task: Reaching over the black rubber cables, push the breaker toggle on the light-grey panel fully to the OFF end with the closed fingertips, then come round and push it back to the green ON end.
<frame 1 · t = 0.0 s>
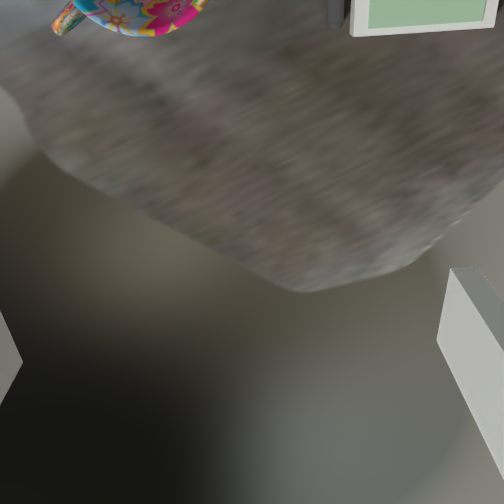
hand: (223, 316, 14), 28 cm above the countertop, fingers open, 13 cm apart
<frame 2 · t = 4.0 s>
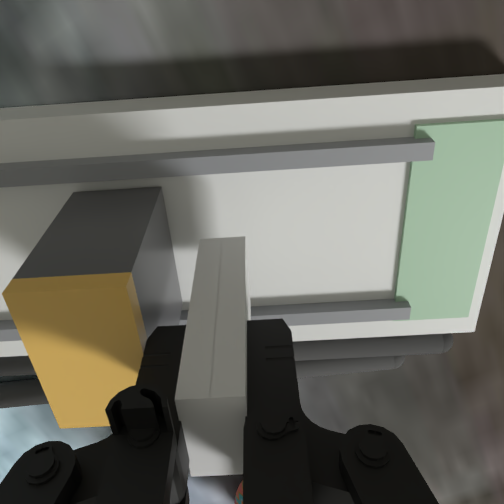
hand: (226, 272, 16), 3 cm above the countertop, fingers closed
cable b: (157, 370, 23), on the countertop
breaker toggle: (114, 299, 15), point 5 cm above the countertop, slide at 3.7 cm, touching gripper
cable a: (172, 344, 22), on the countertop
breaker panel: (148, 228, 19), on the countertop
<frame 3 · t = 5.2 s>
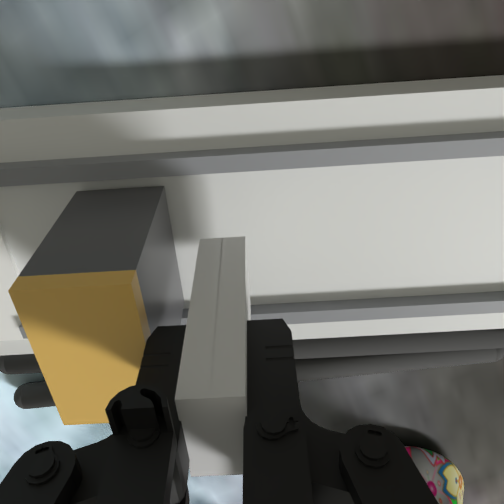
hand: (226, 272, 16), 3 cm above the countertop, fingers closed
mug: (394, 486, 29), on the countertop
cable b: (252, 363, 23), on the countertop
breaker toggle: (117, 297, 15), point 4 cm above the countertop, slide at -0.9 cm, touching gripper
cable a: (271, 337, 22), on the countertop
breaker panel: (265, 220, 19), on the countertop
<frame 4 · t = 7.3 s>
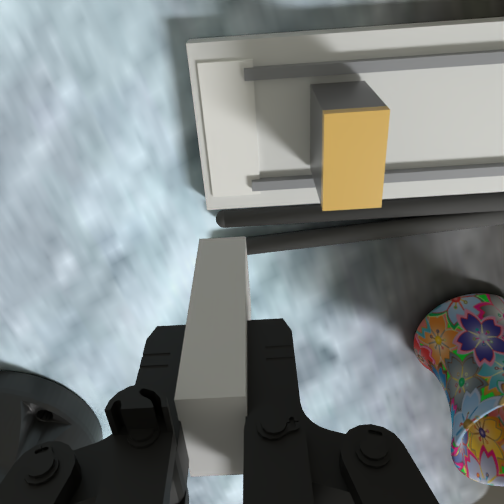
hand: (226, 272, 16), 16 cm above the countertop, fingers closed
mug: (470, 336, 40), on the countertop
cable b: (384, 225, 34), on the countertop
breaker toggle: (344, 143, 26), point 5 cm above the countertop, slide at -0.9 cm
cable a: (401, 203, 33), on the countertop
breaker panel: (411, 112, 29), on the countertop
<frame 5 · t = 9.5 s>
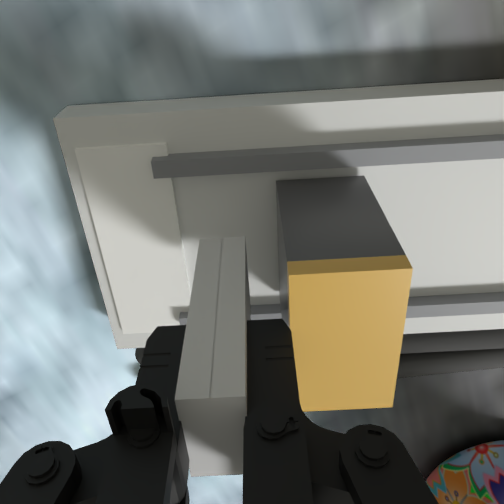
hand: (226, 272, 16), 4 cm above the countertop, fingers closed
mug: (497, 480, 29), on the countertop
cable b: (382, 356, 23), on the countertop
breaker toggle: (330, 286, 15), point 4 cm above the countertop, slide at -0.5 cm, touching gripper
cable a: (407, 330, 22), on the countertop
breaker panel: (425, 212, 19), on the countertop
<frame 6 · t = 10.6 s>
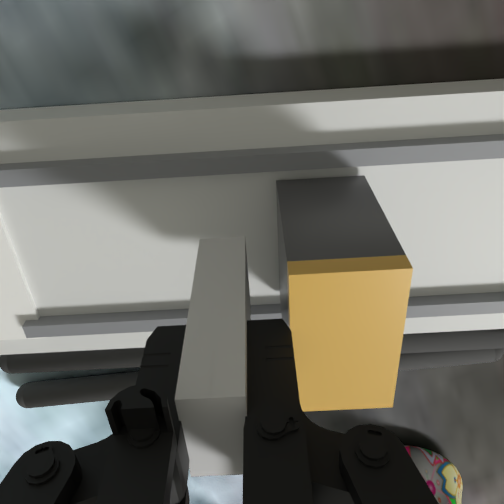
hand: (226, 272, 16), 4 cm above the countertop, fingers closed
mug: (393, 485, 29), on the countertop
cable b: (253, 363, 23), on the countertop
breaker toggle: (330, 286, 15), point 5 cm above the countertop, slide at 5.8 cm, touching gripper
cable a: (272, 337, 23), on the countertop
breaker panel: (267, 221, 19), on the countertop
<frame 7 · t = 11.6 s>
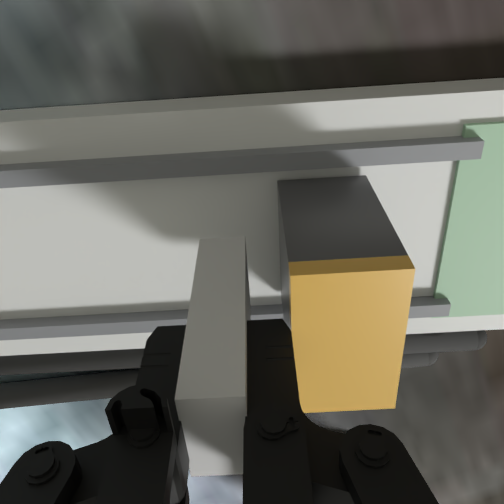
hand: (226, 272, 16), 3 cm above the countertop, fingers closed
cable b: (191, 367, 23), on the countertop
breaker toggle: (331, 286, 15), point 5 cm above the countertop, slide at 8.9 cm, touching gripper
cable a: (208, 341, 22), on the countertop
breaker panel: (191, 226, 19), on the countertop
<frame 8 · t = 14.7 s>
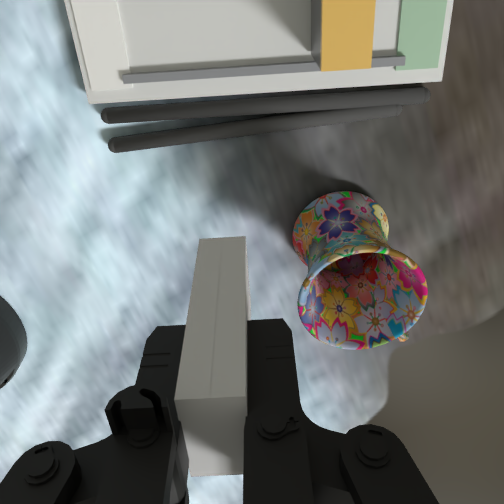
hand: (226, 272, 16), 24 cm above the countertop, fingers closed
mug: (346, 238, 44), on the countertop
cable b: (252, 124, 38), on the countertop
breaker toggle: (340, 18, 30), point 4 cm above the countertop, slide at 8.9 cm
cable a: (264, 103, 37), on the countertop
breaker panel: (259, 15, 34), on the countertop
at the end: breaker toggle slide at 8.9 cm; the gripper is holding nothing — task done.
